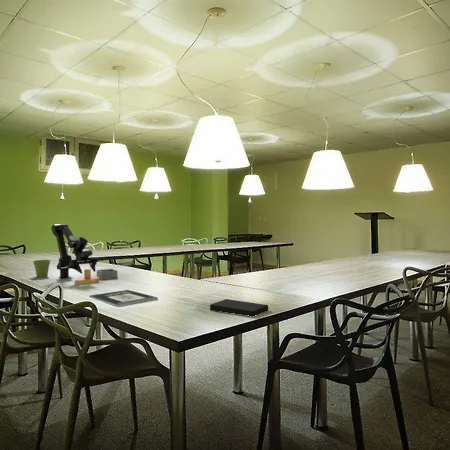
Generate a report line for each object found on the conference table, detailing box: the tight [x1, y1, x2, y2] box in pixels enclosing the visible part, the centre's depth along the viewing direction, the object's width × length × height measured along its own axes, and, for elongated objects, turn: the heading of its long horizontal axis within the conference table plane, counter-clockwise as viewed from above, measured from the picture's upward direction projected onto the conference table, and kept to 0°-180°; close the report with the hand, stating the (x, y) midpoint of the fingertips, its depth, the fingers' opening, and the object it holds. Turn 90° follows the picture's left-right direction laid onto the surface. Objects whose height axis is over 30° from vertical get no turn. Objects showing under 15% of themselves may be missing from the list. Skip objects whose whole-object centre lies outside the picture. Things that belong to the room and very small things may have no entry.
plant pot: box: [32, 259, 52, 278], centre depth 281 cm, size 12×12×11 cm
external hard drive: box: [209, 298, 269, 317], centre depth 181 cm, size 14×23×3 cm, turn 57°
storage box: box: [96, 268, 118, 281], centre depth 269 cm, size 11×11×6 cm
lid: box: [74, 268, 101, 286], centre depth 254 cm, size 13×13×8 cm
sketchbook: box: [89, 289, 158, 307], centre depth 207 cm, size 23×32×2 cm
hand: (88, 272), depth 253 cm, fingers open, 9 cm apart
